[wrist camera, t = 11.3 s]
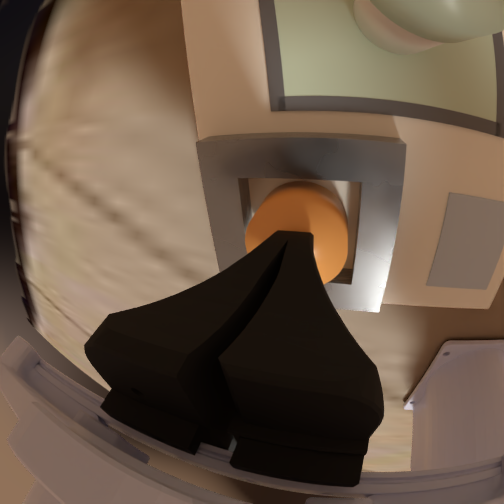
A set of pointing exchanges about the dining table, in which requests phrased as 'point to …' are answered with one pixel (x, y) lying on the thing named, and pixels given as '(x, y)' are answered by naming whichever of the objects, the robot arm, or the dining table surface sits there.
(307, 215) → the button
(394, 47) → the marker
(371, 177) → the button base
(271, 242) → the robot arm
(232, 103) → the picture board
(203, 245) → the dining table surface
